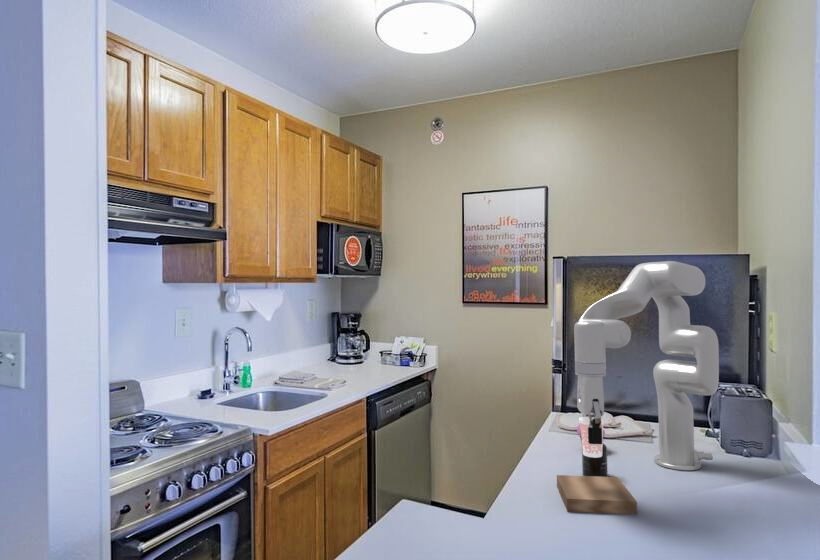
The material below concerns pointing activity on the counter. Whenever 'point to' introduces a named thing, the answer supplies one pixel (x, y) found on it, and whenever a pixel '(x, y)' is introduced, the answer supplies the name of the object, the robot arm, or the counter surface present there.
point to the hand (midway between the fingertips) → (592, 439)
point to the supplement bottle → (595, 464)
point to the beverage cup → (588, 449)
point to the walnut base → (595, 494)
